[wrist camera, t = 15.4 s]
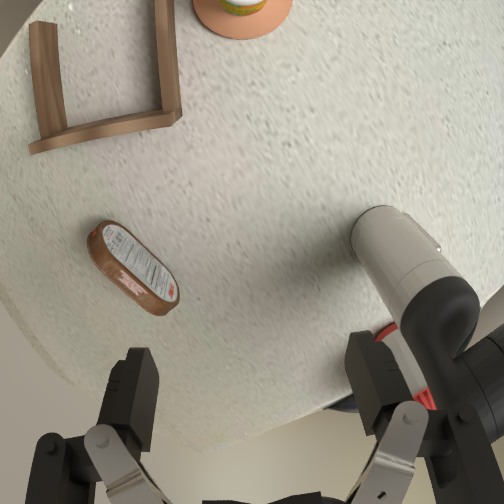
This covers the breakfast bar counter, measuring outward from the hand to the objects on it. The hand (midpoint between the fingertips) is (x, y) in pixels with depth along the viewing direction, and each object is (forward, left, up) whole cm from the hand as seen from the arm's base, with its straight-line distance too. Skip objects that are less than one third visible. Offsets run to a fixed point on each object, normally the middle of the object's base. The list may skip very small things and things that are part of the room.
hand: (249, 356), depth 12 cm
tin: (+14, +12, -30) cm, 36 cm away
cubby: (+14, -14, -30) cm, 36 cm away
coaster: (-2, -20, -30) cm, 36 cm away
